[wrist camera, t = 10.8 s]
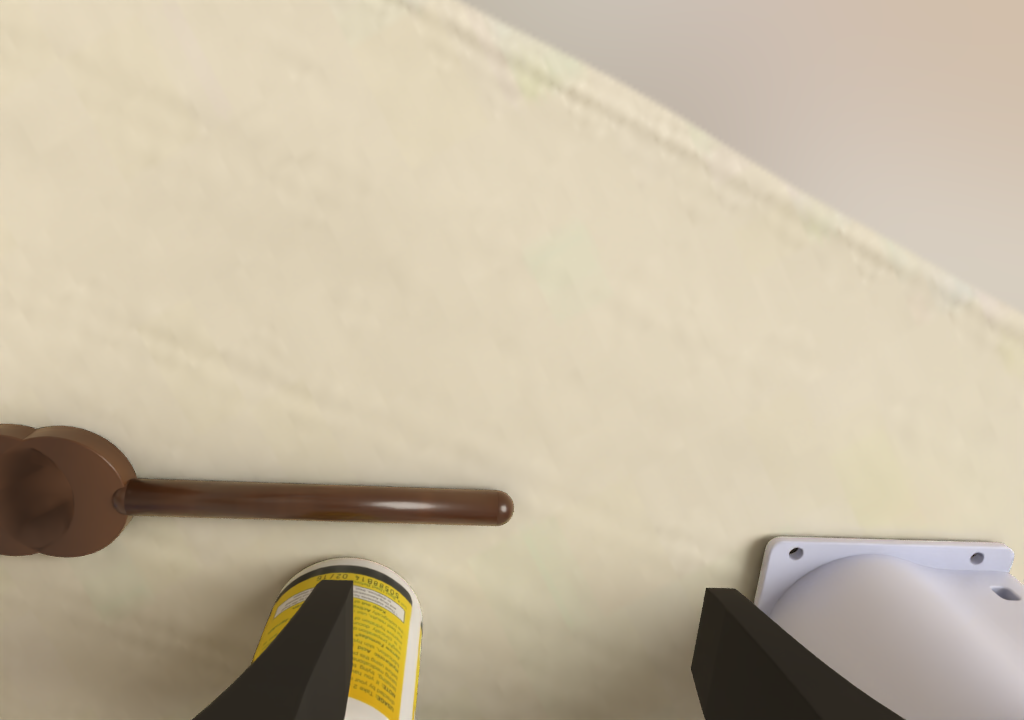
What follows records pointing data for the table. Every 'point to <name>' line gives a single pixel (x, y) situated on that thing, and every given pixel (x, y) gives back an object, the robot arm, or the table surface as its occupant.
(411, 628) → the supplement bottle
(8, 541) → the walnut spoon
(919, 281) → the table surface
